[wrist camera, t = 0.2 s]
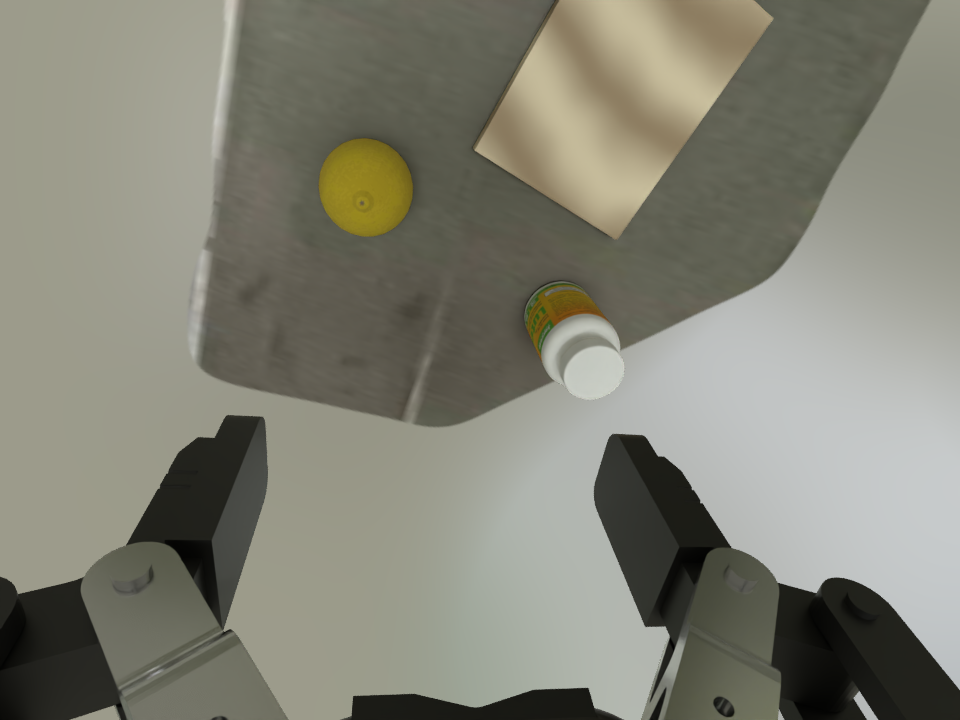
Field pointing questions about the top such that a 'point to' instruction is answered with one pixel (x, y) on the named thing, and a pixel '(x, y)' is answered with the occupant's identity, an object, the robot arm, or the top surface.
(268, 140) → the top surface
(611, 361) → the supplement bottle
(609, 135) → the birch board
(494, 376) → the top surface
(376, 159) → the lemon
